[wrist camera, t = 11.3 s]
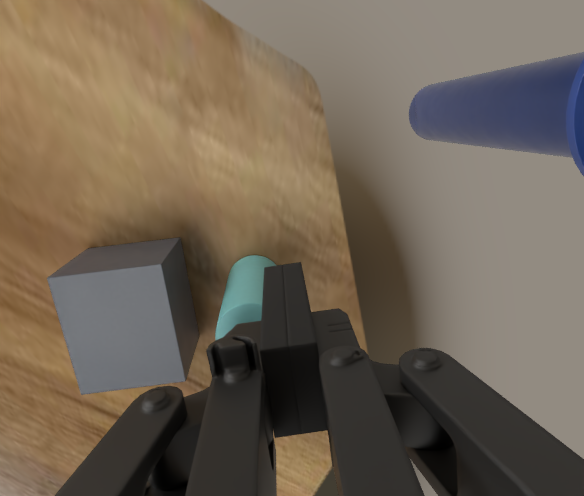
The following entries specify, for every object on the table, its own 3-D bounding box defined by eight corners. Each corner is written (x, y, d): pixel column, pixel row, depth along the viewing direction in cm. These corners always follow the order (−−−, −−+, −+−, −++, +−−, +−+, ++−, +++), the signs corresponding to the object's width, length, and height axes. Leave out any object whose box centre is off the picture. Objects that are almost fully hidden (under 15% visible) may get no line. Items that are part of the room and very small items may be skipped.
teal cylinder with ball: (268, 247, 50) (371, 296, 34) (274, 294, 51) (375, 364, 35) (162, 274, 44) (223, 349, 28) (172, 326, 46) (236, 424, 30)
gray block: (180, 237, 46) (161, 263, 38) (199, 336, 50) (185, 381, 41) (87, 248, 46) (46, 277, 37) (113, 347, 50) (81, 394, 41)
